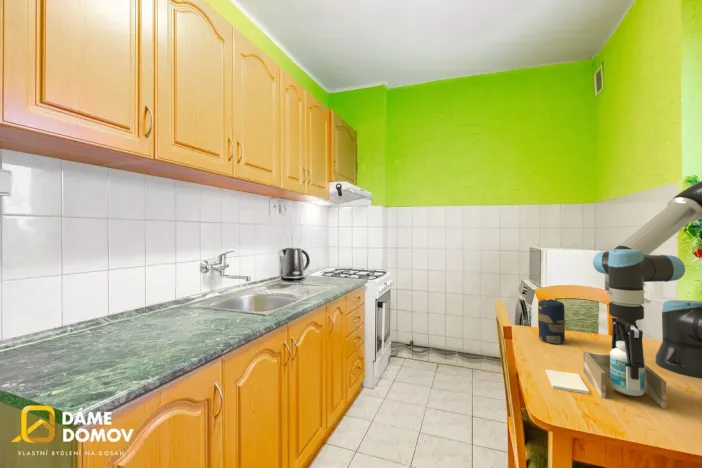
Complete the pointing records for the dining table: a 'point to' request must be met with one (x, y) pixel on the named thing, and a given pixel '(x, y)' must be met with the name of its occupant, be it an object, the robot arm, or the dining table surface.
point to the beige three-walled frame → (600, 369)
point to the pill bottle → (623, 371)
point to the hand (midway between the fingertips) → (627, 382)
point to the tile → (566, 381)
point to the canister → (551, 321)
